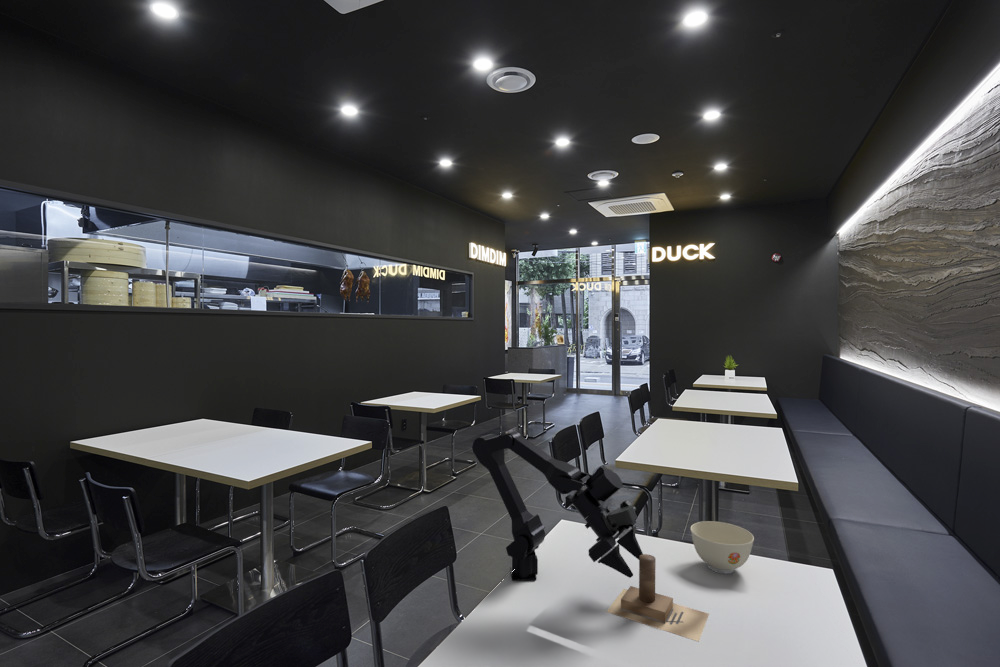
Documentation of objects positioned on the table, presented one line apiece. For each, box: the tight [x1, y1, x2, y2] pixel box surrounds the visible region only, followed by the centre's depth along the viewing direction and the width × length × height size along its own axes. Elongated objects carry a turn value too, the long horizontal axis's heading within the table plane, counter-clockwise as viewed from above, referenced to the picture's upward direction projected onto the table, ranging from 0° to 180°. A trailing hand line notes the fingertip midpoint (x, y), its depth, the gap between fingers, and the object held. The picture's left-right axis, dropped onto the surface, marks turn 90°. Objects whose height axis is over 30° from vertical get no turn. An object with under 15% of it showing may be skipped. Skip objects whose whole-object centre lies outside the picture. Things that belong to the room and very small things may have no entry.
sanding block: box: [621, 553, 674, 624], centre depth 116 cm, size 10×7×12 cm
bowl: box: [690, 520, 755, 575], centre depth 138 cm, size 16×16×10 cm
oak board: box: [606, 588, 710, 642], centre depth 114 cm, size 20×12×1 cm, turn 58°
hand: (637, 568), depth 117 cm, fingers open, 9 cm apart
